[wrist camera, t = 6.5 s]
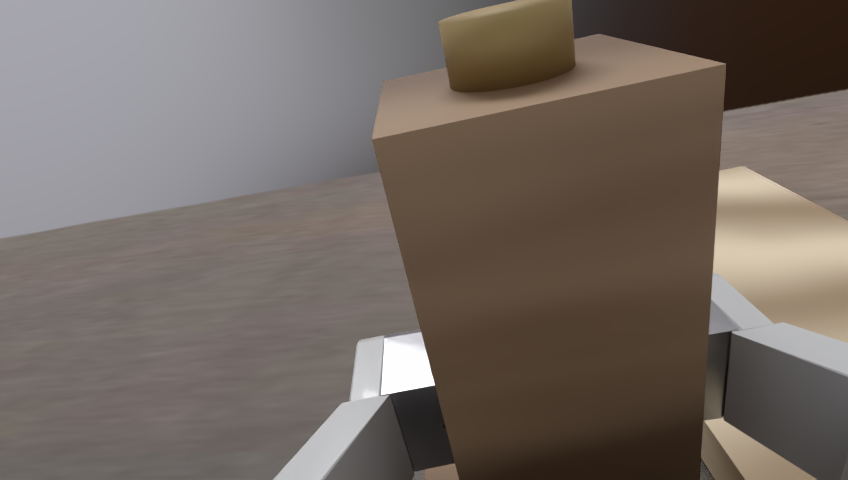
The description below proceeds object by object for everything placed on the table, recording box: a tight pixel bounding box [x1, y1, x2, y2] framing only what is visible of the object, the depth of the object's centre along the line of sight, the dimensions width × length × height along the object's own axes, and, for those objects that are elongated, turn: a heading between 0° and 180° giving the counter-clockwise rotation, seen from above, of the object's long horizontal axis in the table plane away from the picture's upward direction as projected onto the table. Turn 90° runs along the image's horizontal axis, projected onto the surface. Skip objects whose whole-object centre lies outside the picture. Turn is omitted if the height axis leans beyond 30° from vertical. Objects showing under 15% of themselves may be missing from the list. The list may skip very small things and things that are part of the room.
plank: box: [701, 166, 848, 480], centre depth 16 cm, size 24×10×2 cm, turn 2°
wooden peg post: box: [372, 0, 726, 480], centre depth 9 cm, size 6×6×13 cm
